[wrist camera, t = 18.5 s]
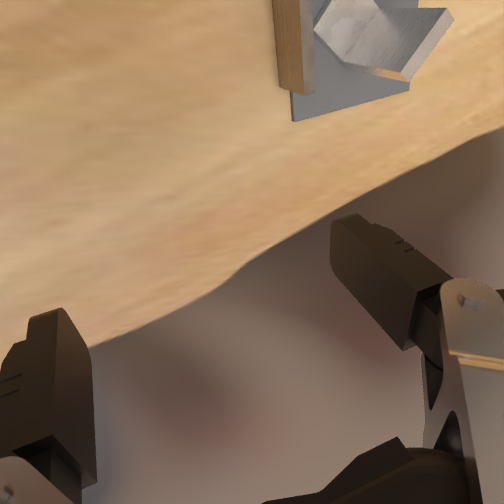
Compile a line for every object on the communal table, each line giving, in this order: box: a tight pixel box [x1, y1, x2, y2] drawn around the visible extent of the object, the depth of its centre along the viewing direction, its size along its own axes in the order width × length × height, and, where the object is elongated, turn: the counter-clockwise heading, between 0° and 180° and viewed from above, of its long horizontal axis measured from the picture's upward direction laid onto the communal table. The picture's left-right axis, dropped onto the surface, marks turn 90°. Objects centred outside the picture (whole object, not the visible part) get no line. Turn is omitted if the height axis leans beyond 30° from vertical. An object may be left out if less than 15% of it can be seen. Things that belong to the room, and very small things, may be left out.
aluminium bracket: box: [313, 0, 454, 83], centre depth 35 cm, size 6×6×10 cm
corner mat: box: [290, 0, 419, 122], centre depth 39 cm, size 20×16×1 cm
